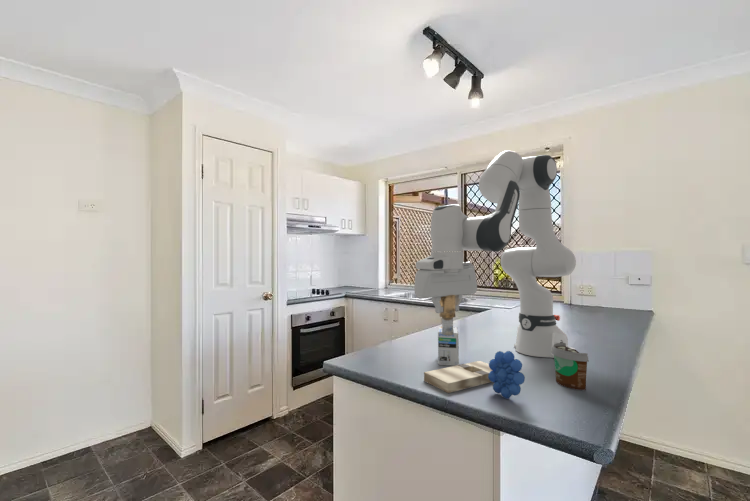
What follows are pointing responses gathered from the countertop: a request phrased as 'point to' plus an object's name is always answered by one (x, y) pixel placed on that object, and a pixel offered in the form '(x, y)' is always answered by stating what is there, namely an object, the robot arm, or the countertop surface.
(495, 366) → the grapes
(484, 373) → the wooden block with hole
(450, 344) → the light bulb box
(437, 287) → the robot arm
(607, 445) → the countertop surface
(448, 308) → the gold rounded piece
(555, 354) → the food container
